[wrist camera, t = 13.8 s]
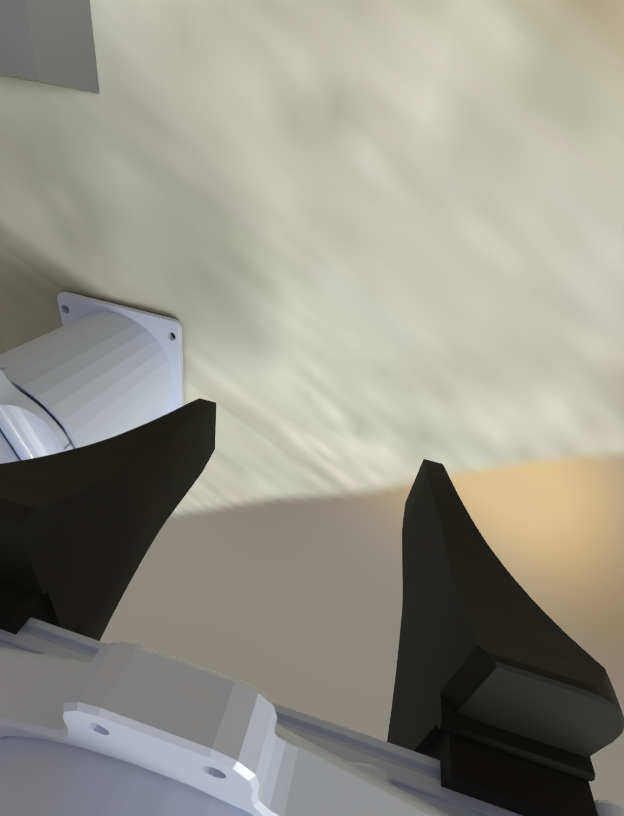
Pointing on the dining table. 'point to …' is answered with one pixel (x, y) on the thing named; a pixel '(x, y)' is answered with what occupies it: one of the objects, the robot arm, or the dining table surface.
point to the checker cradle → (48, 42)
